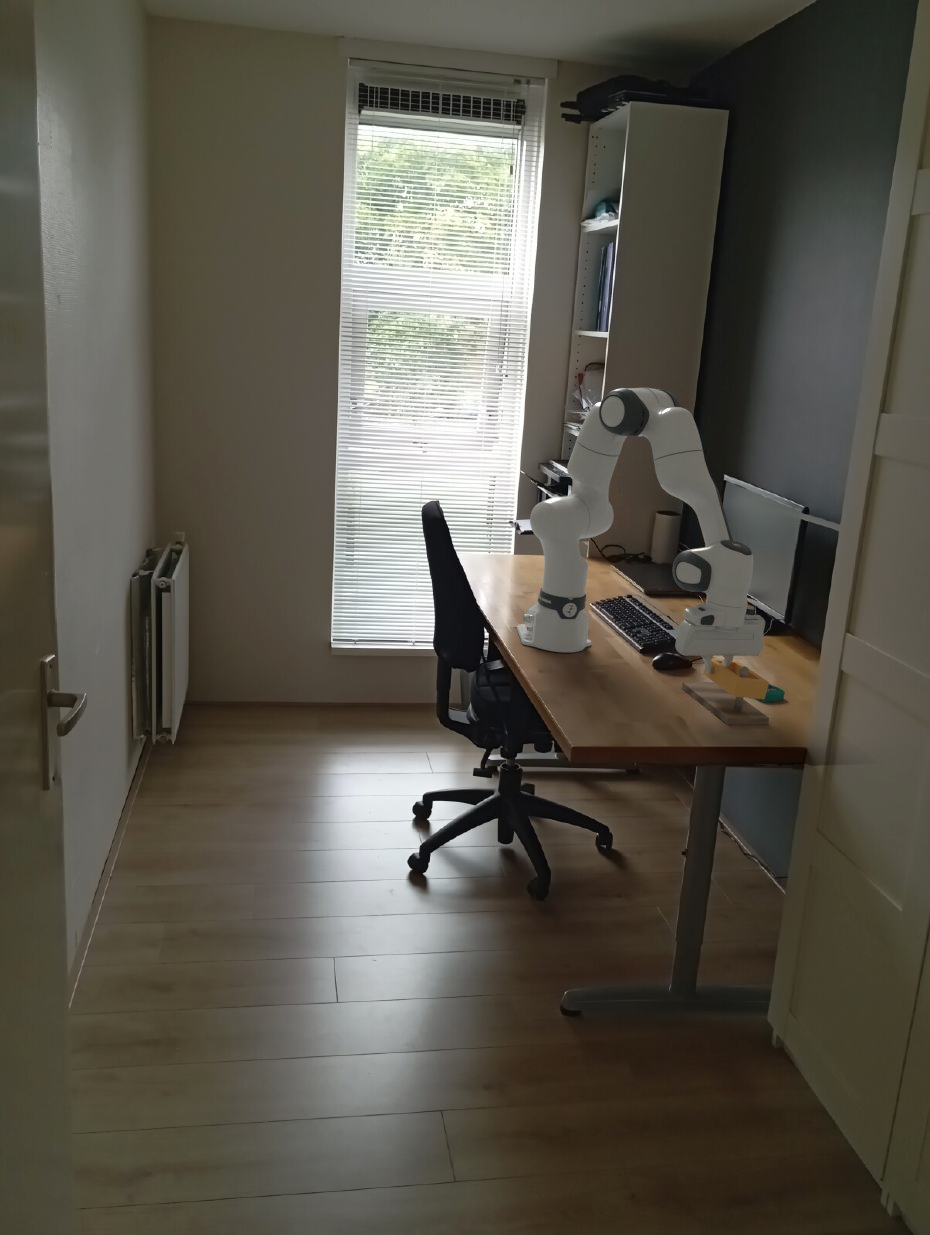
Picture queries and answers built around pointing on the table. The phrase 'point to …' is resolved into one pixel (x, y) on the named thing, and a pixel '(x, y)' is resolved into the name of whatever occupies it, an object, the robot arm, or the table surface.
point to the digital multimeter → (773, 694)
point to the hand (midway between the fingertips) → (714, 673)
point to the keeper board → (725, 702)
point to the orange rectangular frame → (737, 680)
